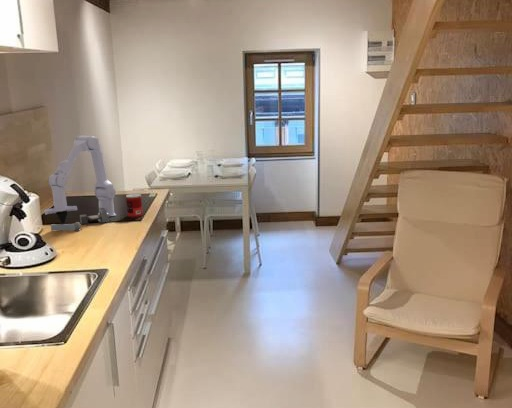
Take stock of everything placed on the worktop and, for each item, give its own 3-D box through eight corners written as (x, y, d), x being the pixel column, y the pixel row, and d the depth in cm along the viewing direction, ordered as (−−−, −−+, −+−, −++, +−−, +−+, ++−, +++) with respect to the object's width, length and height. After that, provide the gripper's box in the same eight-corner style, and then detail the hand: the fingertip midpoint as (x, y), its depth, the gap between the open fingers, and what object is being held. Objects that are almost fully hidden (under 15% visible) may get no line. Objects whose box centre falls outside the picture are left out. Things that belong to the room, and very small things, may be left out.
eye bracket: (97, 220, 265) (96, 208, 263) (107, 219, 267) (106, 207, 265) (99, 223, 259) (98, 211, 258) (110, 221, 262) (108, 209, 260)
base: (73, 229, 249) (73, 229, 249) (81, 228, 251) (81, 228, 251) (74, 231, 246) (74, 231, 246) (82, 230, 248) (82, 230, 248)
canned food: (144, 213, 275) (143, 193, 273) (140, 217, 268) (138, 196, 265) (130, 213, 276) (128, 193, 274) (125, 217, 269) (123, 196, 266)
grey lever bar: (50, 230, 247) (50, 224, 247) (52, 229, 250) (51, 222, 249) (79, 230, 247) (78, 223, 246) (81, 228, 249) (80, 222, 249)
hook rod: (80, 223, 260) (79, 215, 259) (109, 218, 266) (108, 211, 265) (81, 224, 257) (80, 217, 256) (110, 220, 263) (110, 212, 262)
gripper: (44, 202, 241) (48, 231, 244) (76, 198, 247) (80, 226, 250) (42, 199, 247) (46, 227, 250) (74, 195, 253) (77, 222, 256)
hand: (63, 226), depth 250 cm, fingers closed
